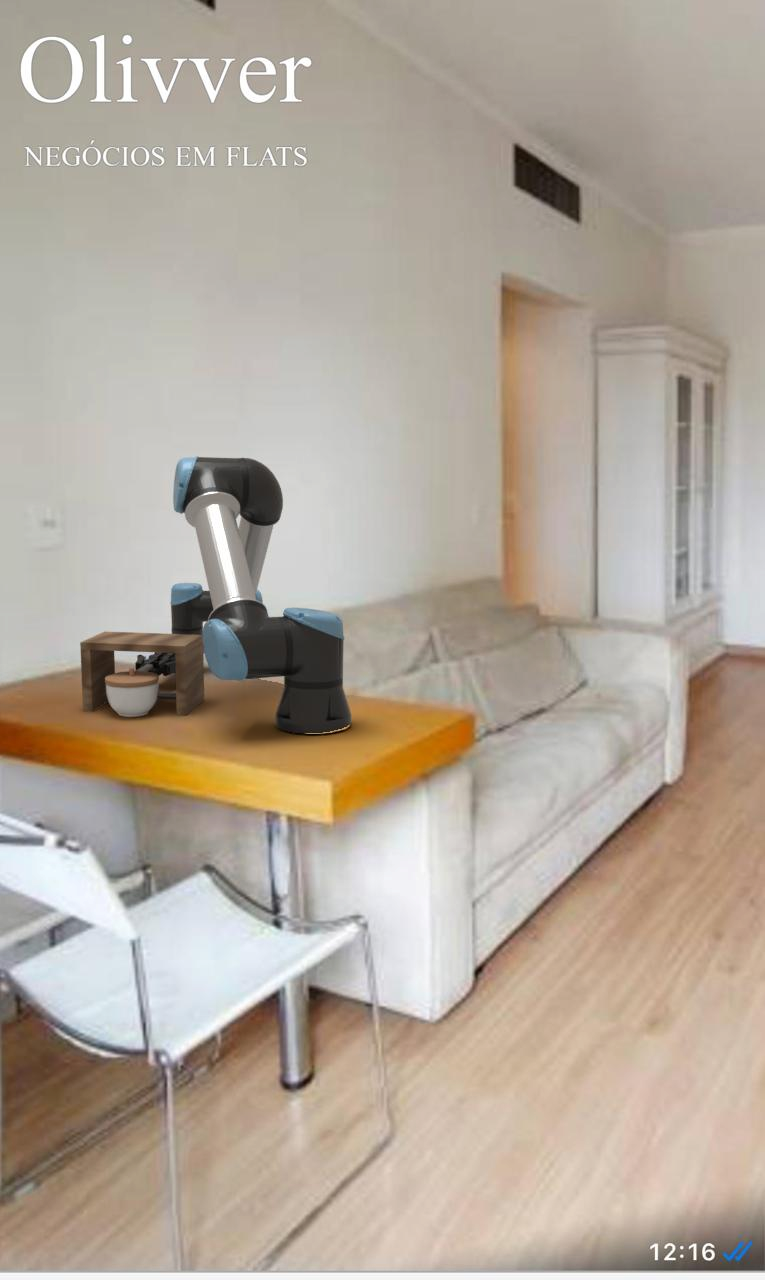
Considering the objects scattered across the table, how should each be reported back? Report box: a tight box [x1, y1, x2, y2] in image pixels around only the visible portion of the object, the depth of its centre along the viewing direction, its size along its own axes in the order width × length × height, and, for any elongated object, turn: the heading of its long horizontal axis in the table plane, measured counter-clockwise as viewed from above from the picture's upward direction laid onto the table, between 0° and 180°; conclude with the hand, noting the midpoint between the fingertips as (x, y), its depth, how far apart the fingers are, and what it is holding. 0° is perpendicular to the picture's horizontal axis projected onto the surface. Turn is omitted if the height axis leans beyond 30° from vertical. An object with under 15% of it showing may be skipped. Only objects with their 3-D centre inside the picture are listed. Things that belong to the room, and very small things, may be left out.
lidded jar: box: [105, 667, 160, 718], centre depth 198 cm, size 11×11×9 cm
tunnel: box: [79, 631, 205, 716], centre depth 204 cm, size 22×13×14 cm, turn 84°
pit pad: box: [157, 691, 176, 700], centre depth 213 cm, size 18×4×1 cm, turn 84°
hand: (139, 677), depth 203 cm, fingers closed
